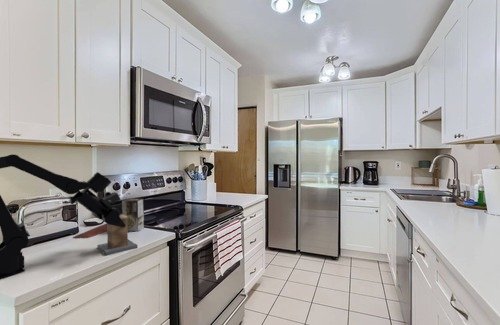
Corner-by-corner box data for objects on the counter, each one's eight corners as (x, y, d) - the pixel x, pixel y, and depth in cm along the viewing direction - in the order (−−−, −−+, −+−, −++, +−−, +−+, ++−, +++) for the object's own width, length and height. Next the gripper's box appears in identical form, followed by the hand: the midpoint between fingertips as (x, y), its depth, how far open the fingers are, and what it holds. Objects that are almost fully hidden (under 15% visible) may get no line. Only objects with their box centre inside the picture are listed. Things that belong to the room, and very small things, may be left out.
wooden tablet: (107, 224, 146) (107, 222, 146) (123, 225, 145) (123, 222, 145) (68, 239, 120) (68, 235, 120) (87, 240, 118) (87, 236, 118)
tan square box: (112, 248, 103) (111, 219, 102) (107, 245, 107) (107, 216, 107) (127, 244, 107) (127, 216, 107) (122, 241, 111) (122, 214, 111)
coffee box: (144, 228, 137) (144, 198, 137) (138, 231, 131) (138, 200, 131) (128, 227, 138) (128, 198, 138) (121, 230, 132) (121, 200, 132)
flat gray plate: (106, 255, 98) (106, 247, 98) (97, 247, 107) (97, 240, 107) (137, 247, 107) (137, 240, 107) (126, 241, 115) (126, 234, 115)
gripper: (114, 188, 97) (143, 212, 105) (100, 184, 110) (126, 206, 118) (91, 211, 92) (123, 235, 100) (79, 205, 105) (108, 226, 113)
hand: (120, 224), depth 108 cm, fingers open, 9 cm apart
